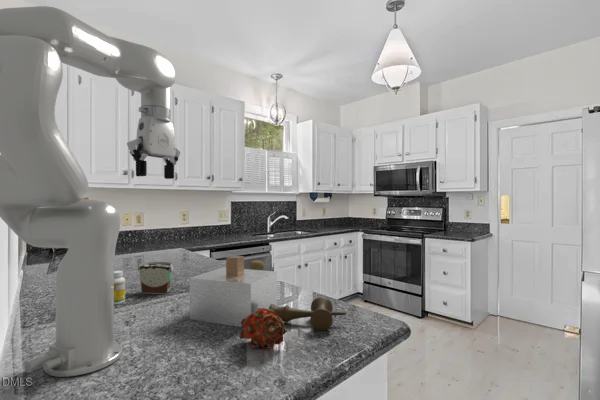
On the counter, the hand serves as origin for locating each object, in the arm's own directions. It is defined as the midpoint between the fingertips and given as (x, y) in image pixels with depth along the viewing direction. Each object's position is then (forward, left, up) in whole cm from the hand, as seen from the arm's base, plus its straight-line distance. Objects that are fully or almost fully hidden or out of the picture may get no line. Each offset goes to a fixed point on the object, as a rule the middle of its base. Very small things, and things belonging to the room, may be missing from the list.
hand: (155, 177), depth 89 cm
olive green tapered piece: (+31, -15, -39) cm, 52 cm away
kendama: (+9, -42, -39) cm, 57 cm away
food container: (+20, +18, -39) cm, 47 cm away
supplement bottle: (+5, +21, -39) cm, 44 cm away
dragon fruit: (-6, -36, -39) cm, 53 cm away
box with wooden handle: (+9, -20, -38) cm, 44 cm away
